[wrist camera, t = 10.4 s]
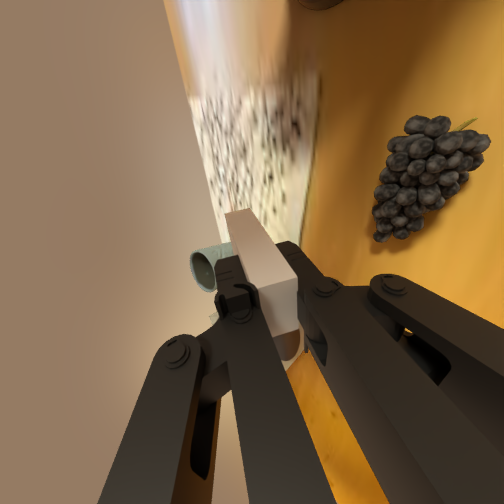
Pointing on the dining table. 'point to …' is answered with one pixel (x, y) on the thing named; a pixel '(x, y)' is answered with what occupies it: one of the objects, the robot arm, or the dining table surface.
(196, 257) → the grey-green cup
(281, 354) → the knob
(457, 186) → the fruit
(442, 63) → the dining table surface
